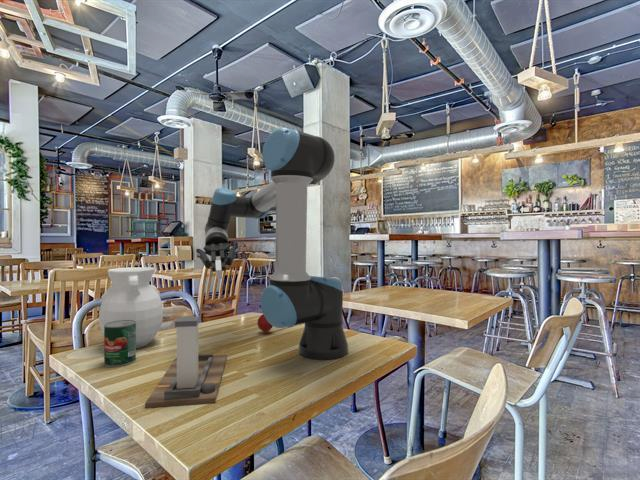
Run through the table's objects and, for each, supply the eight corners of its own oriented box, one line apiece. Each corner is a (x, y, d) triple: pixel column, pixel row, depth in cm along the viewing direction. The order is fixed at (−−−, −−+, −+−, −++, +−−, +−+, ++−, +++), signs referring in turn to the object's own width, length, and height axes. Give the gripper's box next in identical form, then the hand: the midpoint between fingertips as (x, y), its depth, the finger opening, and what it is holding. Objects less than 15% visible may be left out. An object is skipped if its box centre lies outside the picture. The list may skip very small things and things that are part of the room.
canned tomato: (101, 368, 95) (101, 327, 95) (106, 359, 102) (106, 321, 102) (134, 364, 98) (134, 325, 98) (137, 355, 105) (137, 318, 105)
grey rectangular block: (179, 381, 84) (179, 317, 84) (199, 379, 85) (199, 316, 85) (175, 389, 79) (174, 321, 79) (196, 387, 80) (196, 320, 80)
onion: (260, 330, 134) (260, 309, 134) (275, 331, 133) (275, 309, 133) (255, 334, 128) (255, 312, 128) (270, 335, 128) (270, 313, 127)
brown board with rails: (176, 361, 101) (176, 352, 101) (226, 358, 103) (226, 349, 103) (145, 407, 73) (145, 395, 73) (215, 402, 76) (215, 390, 76)
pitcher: (100, 341, 120) (100, 267, 120) (160, 334, 129) (160, 265, 129) (97, 358, 103) (97, 272, 103) (166, 348, 113) (165, 269, 112)
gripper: (237, 250, 122) (244, 283, 101) (197, 254, 118) (195, 289, 98) (236, 229, 119) (242, 259, 98) (195, 233, 116) (192, 265, 95)
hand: (219, 274), depth 98 cm, fingers closed
